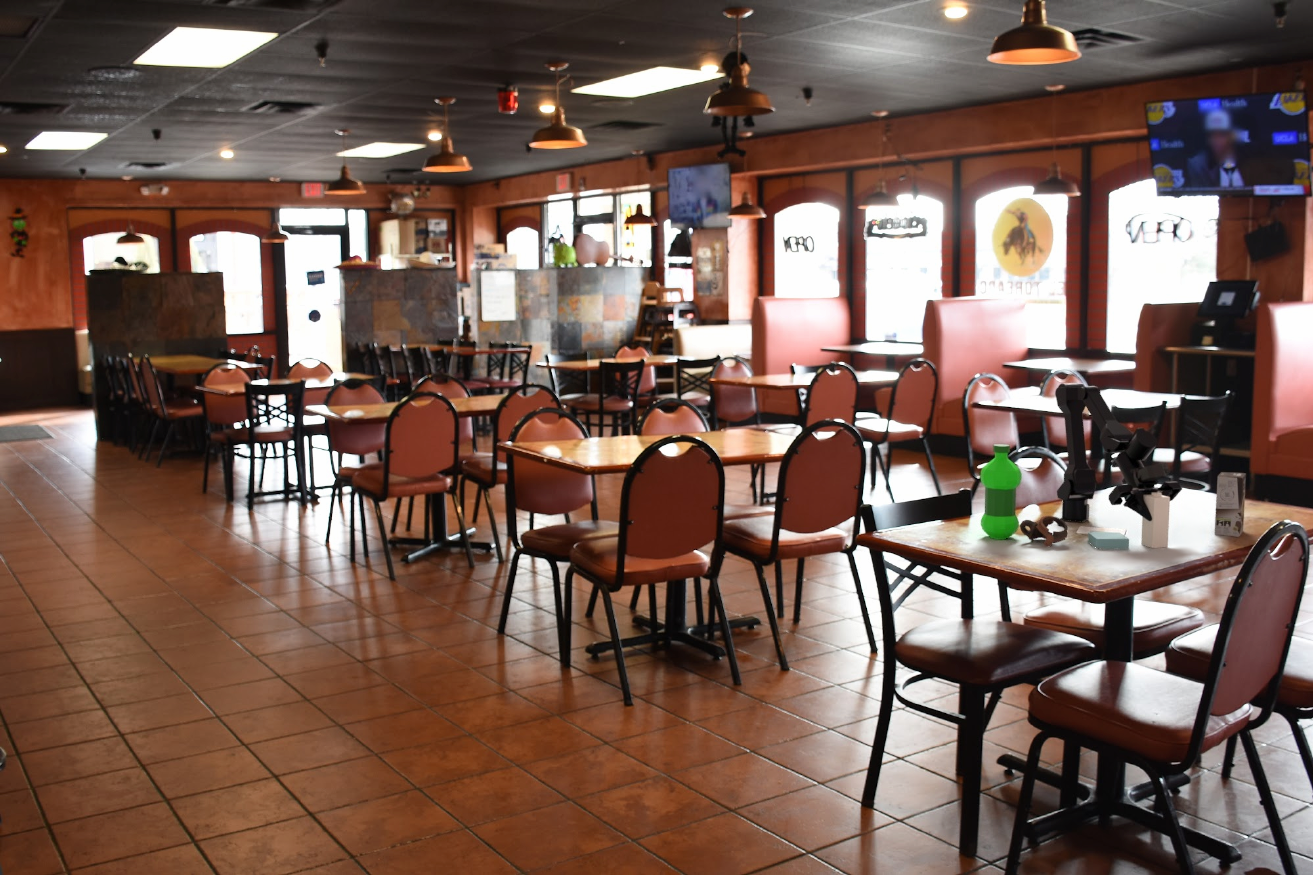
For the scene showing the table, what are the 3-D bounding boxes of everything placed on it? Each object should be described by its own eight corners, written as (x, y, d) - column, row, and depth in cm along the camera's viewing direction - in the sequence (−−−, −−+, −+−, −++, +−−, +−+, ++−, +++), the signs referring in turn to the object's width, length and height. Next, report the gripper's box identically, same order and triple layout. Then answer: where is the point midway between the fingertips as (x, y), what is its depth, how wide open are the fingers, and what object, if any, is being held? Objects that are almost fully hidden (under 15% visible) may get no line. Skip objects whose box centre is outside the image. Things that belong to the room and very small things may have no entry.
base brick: (1088, 543, 312) (1088, 532, 312) (1119, 543, 311) (1119, 532, 311) (1096, 550, 304) (1096, 538, 304) (1128, 550, 304) (1129, 539, 303)
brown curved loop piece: (1060, 540, 317) (1070, 517, 312) (1060, 563, 309) (1071, 539, 304) (1015, 528, 318) (1025, 505, 313) (1014, 550, 311) (1024, 526, 306)
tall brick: (1141, 544, 309) (1143, 492, 307) (1156, 543, 310) (1158, 491, 308) (1152, 548, 304) (1154, 495, 302) (1167, 546, 305) (1170, 494, 304)
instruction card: (1076, 533, 323) (1076, 532, 323) (1079, 527, 331) (1080, 525, 331) (1123, 537, 318) (1123, 535, 318) (1126, 530, 326) (1126, 529, 326)
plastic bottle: (1019, 542, 313) (1021, 448, 310) (978, 540, 316) (979, 447, 313) (1020, 534, 322) (1022, 443, 319) (980, 532, 326) (982, 442, 323)
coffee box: (1240, 537, 316) (1243, 477, 314) (1213, 534, 319) (1216, 475, 317) (1244, 531, 323) (1247, 472, 321) (1218, 528, 327) (1221, 471, 325)
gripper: (1116, 454, 305) (1142, 503, 296) (1179, 450, 310) (1206, 499, 301) (1097, 479, 314) (1121, 528, 305) (1157, 476, 319) (1184, 524, 309)
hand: (1159, 519), depth 305 cm, fingers closed on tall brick, 4 cm apart
